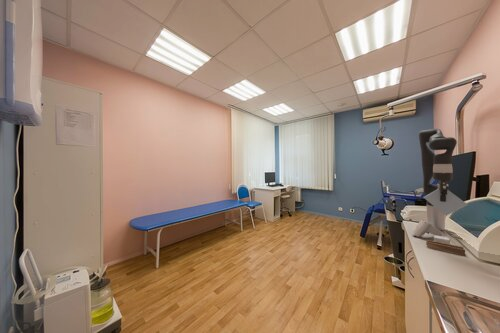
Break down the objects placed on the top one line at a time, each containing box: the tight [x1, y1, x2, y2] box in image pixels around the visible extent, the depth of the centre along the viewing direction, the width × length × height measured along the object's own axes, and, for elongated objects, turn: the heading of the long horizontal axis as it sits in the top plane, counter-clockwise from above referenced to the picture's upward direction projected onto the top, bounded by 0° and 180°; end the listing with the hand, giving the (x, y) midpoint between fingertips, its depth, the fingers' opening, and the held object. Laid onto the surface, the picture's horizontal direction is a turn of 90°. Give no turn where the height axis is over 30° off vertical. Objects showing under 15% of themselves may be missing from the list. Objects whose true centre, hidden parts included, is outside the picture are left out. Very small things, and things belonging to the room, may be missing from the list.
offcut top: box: [433, 235, 451, 244], centre depth 101 cm, size 5×6×2 cm
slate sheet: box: [423, 189, 469, 217], centre depth 97 cm, size 2×11×13 cm
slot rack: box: [425, 239, 466, 257], centre depth 95 cm, size 5×14×3 cm, turn 47°
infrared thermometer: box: [412, 219, 444, 238], centre depth 112 cm, size 5×12×15 cm
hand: (442, 201), depth 98 cm, fingers closed on slate sheet
